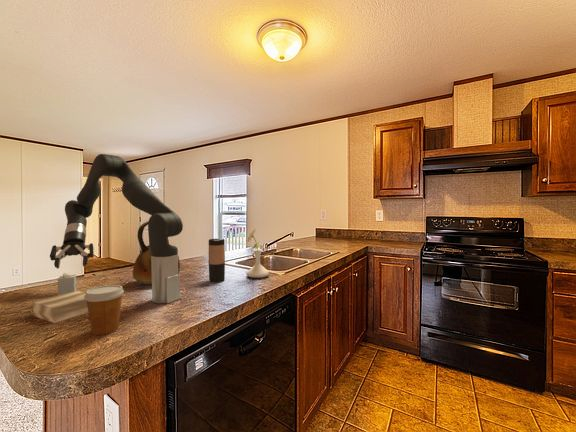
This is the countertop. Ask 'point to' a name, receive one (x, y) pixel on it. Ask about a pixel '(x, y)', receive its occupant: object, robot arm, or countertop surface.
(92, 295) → the disposable coffee cup
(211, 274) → the travel mug
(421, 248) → the countertop surface
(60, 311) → the birch block
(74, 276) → the grey box with knob
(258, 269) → the flower in vase
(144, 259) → the ceramic pitcher
